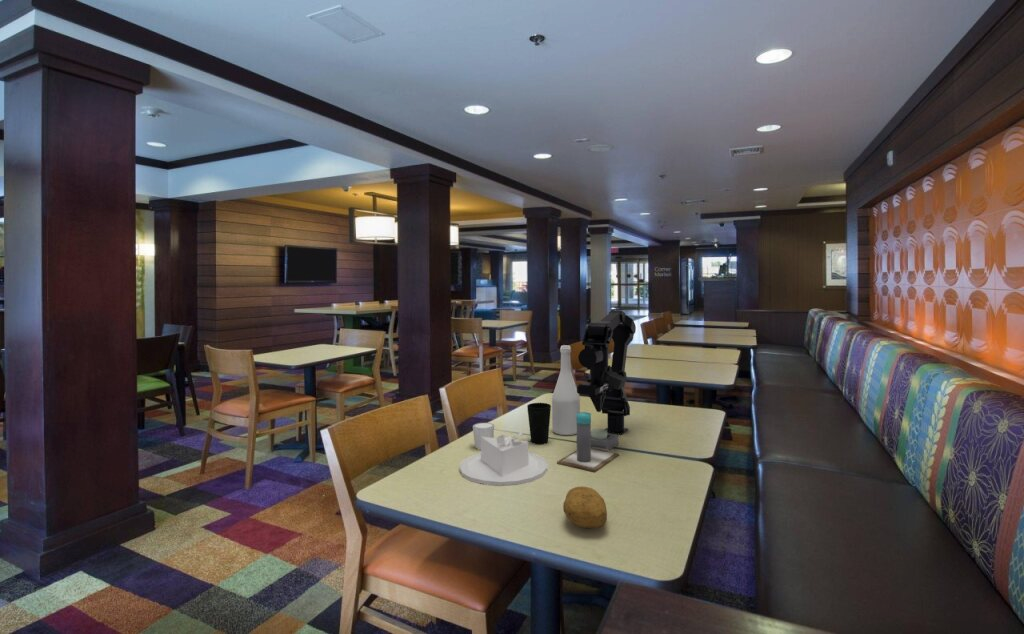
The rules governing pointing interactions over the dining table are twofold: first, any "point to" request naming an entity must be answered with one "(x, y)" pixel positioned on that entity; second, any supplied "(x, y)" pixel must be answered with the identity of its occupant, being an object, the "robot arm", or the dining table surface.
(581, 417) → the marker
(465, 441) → the dining table surface
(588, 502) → the potato
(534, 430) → the cup
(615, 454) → the clipboard
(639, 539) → the dining table surface
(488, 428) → the shot glass
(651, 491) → the dining table surface
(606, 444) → the button housing
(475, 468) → the dish
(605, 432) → the button
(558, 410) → the wine bottle
